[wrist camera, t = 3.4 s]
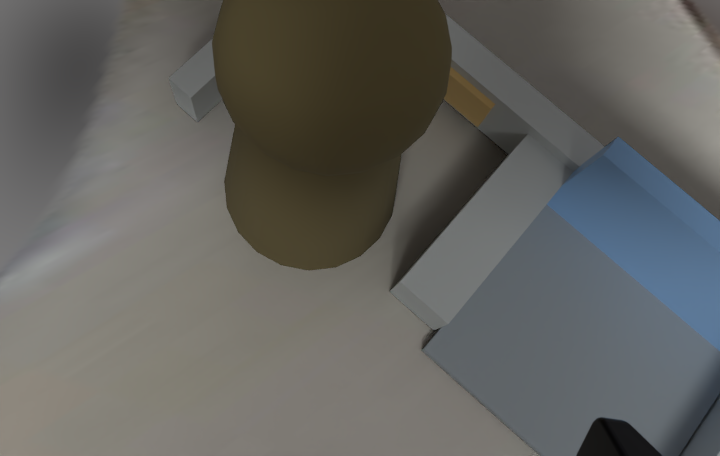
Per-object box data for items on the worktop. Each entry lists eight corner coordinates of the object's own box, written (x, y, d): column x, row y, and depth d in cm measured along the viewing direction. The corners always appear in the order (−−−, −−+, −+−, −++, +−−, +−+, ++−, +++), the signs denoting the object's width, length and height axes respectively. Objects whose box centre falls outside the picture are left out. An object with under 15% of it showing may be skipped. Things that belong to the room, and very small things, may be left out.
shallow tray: (650, 553, 22) (755, 595, 17) (160, 119, 24) (131, 47, 19) (782, 346, 24) (907, 333, 20) (328, -35, 26) (340, -134, 21)
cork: (287, 304, 23) (297, 220, 12) (190, 161, 23) (120, -36, 13) (429, 210, 24) (550, 60, 13) (333, 78, 25) (376, -161, 14)
